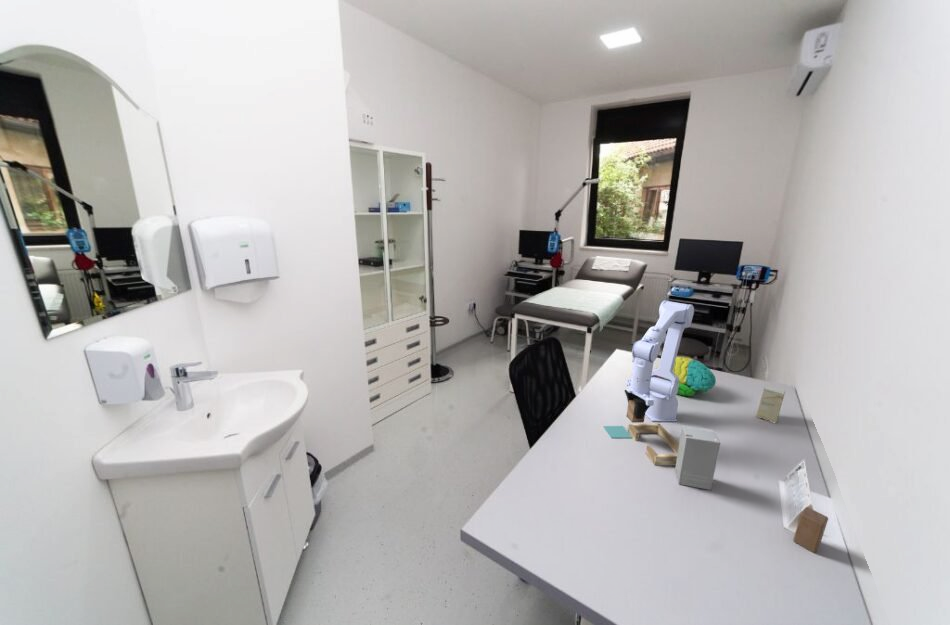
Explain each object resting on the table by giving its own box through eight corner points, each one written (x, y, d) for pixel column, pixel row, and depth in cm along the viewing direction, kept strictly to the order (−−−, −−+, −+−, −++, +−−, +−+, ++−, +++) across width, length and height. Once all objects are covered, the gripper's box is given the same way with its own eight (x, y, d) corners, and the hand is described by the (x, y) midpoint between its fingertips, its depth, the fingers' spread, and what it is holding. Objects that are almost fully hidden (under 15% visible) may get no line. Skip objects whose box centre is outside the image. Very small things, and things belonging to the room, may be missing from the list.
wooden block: (792, 541, 85) (800, 513, 83) (797, 533, 87) (806, 505, 85) (814, 554, 82) (824, 525, 80) (819, 545, 84) (829, 516, 82)
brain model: (720, 393, 157) (724, 360, 154) (702, 406, 146) (707, 371, 143) (664, 377, 175) (667, 347, 172) (644, 387, 164) (647, 355, 161)
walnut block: (637, 416, 124) (640, 400, 123) (643, 422, 120) (646, 406, 119) (626, 416, 124) (628, 400, 122) (631, 422, 120) (634, 406, 119)
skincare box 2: (755, 417, 139) (763, 388, 136) (757, 413, 142) (764, 384, 139) (776, 424, 135) (784, 394, 132) (778, 419, 138) (785, 390, 135)
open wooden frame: (658, 431, 128) (659, 423, 128) (689, 464, 111) (691, 456, 110) (627, 431, 128) (628, 423, 127) (654, 465, 110) (656, 456, 110)
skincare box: (705, 476, 106) (715, 428, 102) (711, 493, 99) (723, 442, 96) (672, 469, 109) (681, 422, 105) (677, 485, 102) (686, 435, 98)
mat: (622, 426, 131) (622, 425, 131) (631, 438, 124) (631, 437, 124) (603, 426, 130) (603, 426, 130) (611, 438, 124) (611, 437, 124)
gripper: (619, 368, 125) (614, 403, 128) (640, 387, 111) (634, 426, 114) (639, 368, 126) (634, 403, 129) (662, 387, 112) (656, 426, 115)
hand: (635, 414), depth 122 cm, fingers closed on walnut block, 4 cm apart
